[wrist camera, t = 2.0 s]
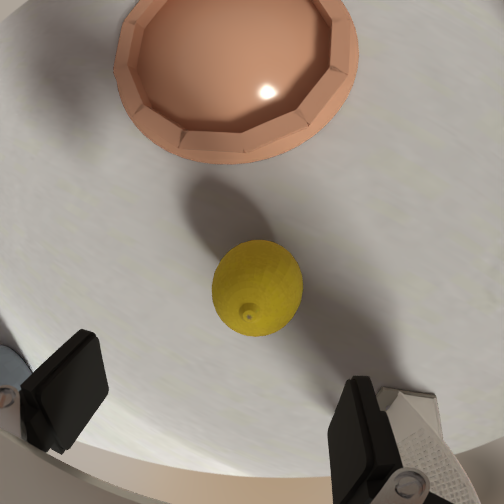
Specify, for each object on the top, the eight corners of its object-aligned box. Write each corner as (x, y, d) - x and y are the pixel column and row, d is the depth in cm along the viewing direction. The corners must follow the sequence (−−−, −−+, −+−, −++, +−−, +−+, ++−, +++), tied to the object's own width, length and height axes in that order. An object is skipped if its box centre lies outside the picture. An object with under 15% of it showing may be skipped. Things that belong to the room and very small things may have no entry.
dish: (356, -27, 15) (361, -43, 12) (345, 179, 20) (352, 181, 18) (144, -26, 16) (132, -38, 14) (111, 159, 22) (93, 160, 19)
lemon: (212, 252, 23) (175, 297, 15) (276, 213, 21) (267, 243, 14) (252, 310, 24) (235, 374, 16) (314, 277, 22) (324, 334, 15)
